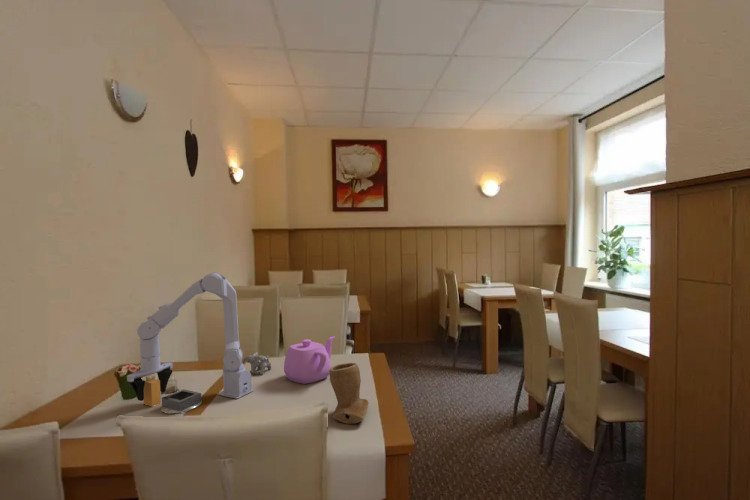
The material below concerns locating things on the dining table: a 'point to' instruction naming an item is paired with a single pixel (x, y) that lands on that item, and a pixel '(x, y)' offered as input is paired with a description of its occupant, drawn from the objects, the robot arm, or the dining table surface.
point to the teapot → (308, 361)
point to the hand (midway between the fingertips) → (151, 395)
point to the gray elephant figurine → (258, 362)
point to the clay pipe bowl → (348, 393)
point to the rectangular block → (152, 392)
